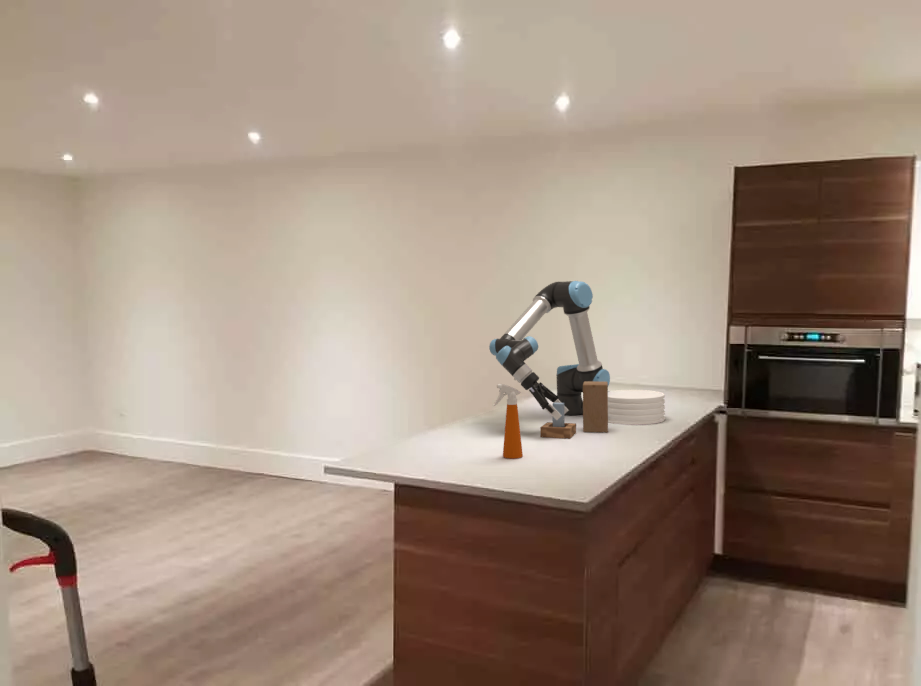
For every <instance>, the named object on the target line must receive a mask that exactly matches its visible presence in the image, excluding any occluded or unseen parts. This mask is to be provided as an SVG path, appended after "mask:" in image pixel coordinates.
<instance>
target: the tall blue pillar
mask: <svg viewBox="0 0 921 686" xmlns="http://www.w3.org/2000/svg"><path fill="white" fill-rule="evenodd" d="M551 405H552V406H553V407H554V408H555V409H556V410H557V411H558V412H559V413H560V414H561V415H562V416H561V417H560V418H559V419H558V420H556V419H555V418H554V417H553V416H552V422H553V427H565V423H566V422H565V415H564V403H553V402H552V404H551Z"/></svg>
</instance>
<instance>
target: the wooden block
mask: <svg viewBox="0 0 921 686" xmlns="http://www.w3.org/2000/svg"><path fill="white" fill-rule="evenodd" d="M608 389H609V385H608V382H595V381H585V382H584V383H583V393H582V400H583V414H582V426H583V427H582V431H583V433H603V432H605V433H608V431H609V423H608V391H609V390H608Z"/></svg>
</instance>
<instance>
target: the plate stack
mask: <svg viewBox="0 0 921 686" xmlns="http://www.w3.org/2000/svg"><path fill="white" fill-rule="evenodd" d="M665 395H666V394H665V393H663V392H661V391H658V390H649V389H647V390H646V389H617V390H616V389H615V390H608V424H615V425H625V426H629V425H630V426H641V425H642V426H643V425H655V424H661V423H663V422H664V421H666V417H665V415H666V414H665V413H666V411H665V408H666V405H665V402H666V400H665V397H666V396H665Z"/></svg>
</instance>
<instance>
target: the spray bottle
mask: <svg viewBox="0 0 921 686" xmlns="http://www.w3.org/2000/svg"><path fill="white" fill-rule="evenodd" d="M496 388H497V389H499V391H498V392H499V394H498V397H497V398H496V400H495V402H494V403H493V404H492V406H493V407H495V406H496V405H498V404H499V403H500V402H501V401H502V400H503V398H505V396H507V398H506V410H505V411H506V413H505V425H504V439H503V447H502V448H503V449H502V450H503V451H502V457H503V458H505V459H509V460H510V459H512V460H514V459H515V460H516V459H517V460H518V459H521V458H523V457H524V455H523V445H522V438H521V429H520V428H521V426H520V418H519V409H518V398H517V396H518V395H520V394H521V393H522V392H521V391H519V389H517V388H515V387H513V386H511V385H507V384H502V383H497V385H496Z"/></svg>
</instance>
